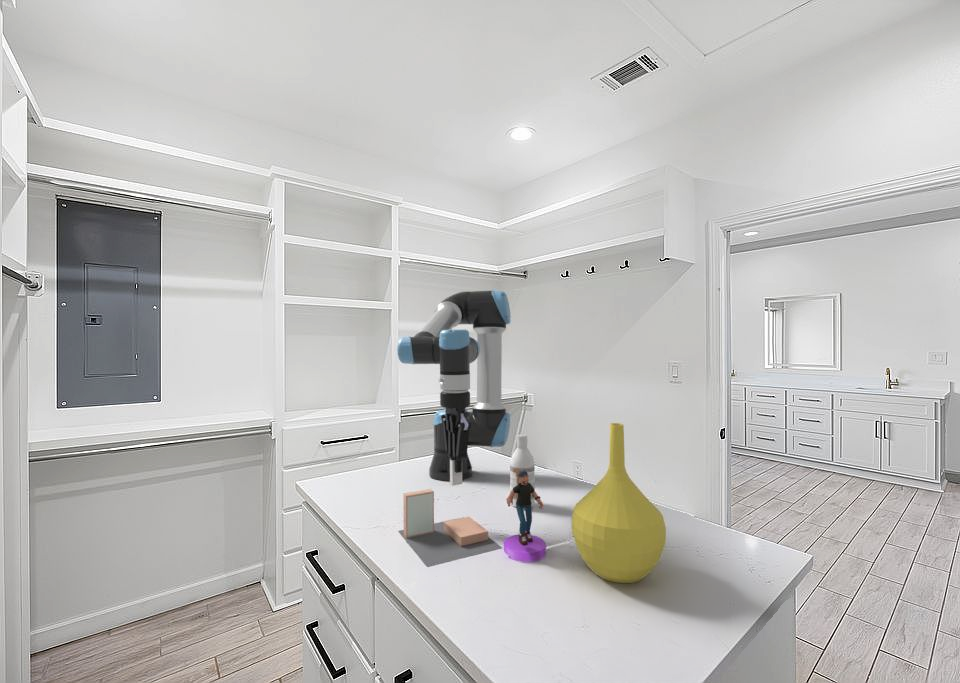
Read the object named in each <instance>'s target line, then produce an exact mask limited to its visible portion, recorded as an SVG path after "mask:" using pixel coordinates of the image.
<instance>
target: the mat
mask: <svg viewBox="0 0 960 683" xmlns="http://www.w3.org/2000/svg"><path fill="white" fill-rule="evenodd" d="M460 518H461V517H459V518H457V519H460ZM462 518H465V516H463V517H462ZM455 519H456V518H454V519H453V518H452V520H455ZM450 520H451V519H449V520H448V521H450ZM445 521H446V520H445ZM445 521H444V520H443V521H439V522H434V532H433V533H429V534H424V535H419V536H415V537H410V538H406V537H405V536H404V529H400V530H398V531H397V532H398V533H399V534H400V536H401V537H402V538H403V540H405V541H406V543H407V544H408V545H409V547H410V548H411V549H412V551H413V552H414V553H415V554H416V555H417V556H418V558H419V559H420V560H421V562H422V563H423V564H424V565H425V566H426V567H427V568H429V567H433V566H437V565H442V564H445V563H449V562H453V561H457V560H461V559H466V558H469V557H473V556H476V555H481V554H484V553H488V552H492V551H496V550H500V549H503V547H502V546H500V544H498V543H497V542H495V541H494V540H493V539H492V538H490V537H489V536H488V540H485V541H481V542H477V543H473V544H468V545H464V546H460V545H459V544H458V543H457V542H456V541H455V540H454V539H453V538H452V537H451V536H450V535H449V534H447V533H446V532H445V531H444V522H445Z"/></svg>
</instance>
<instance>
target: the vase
mask: <svg viewBox="0 0 960 683" xmlns="http://www.w3.org/2000/svg"><path fill="white" fill-rule="evenodd" d="M624 427H625V426H624V424H623V423H619V422H611V423H610V424H609V448H608V449H609V450H608V451H609V453H608V454H609V456H608V457H609V463H608V464H609V465H608V467H607V468H608V469H607V470H606V473H605V475H604V476H603V477H602V478H601V479H600V480H599V481H598V482H597V483H596V485H594V487H592V489H591V490H590V491H589V492H588V493H587V494H585V495H584V496H583V497H582V498H581V499H580V500H579V501H578V502H577V503H576V504H575V505H574V507H573V510H572V515H571V534H572V535H573V539H574V542H575V545H576V548H577V551H578V553H579V555H580V556H581V558H582V559H583V562H585V564H586V565H587V567H588V568H589V569H590V570H591V571H592V572H593V573H594V574H596V575H597V577H600V578H602V579H604V580H605V581H609V582H614V583H619V584H620V583H621V584H628V583H629V584H632V583H636V582H639V581H641V580H642V579H644V578H645V577H647V576H648V575H649V574H650V573H651V572H652V571H653V569H654V568H655V567H656V565H658V563H659V561H660V559H661V556H662V553H663V550H664V548H665V545H666V541H667V540H666V532H667V531H666V530H667V529H666V528H667V527H666V524H665V518H664V516H663V514H662V512H661V511H660V510H659V509H658V508H657V507H656V506H655V505H654V503H652V502H651V500H649V498H647V497H646V496H645V494H644V493H643V492H642V491H641V490H640V488H638V486H637V485H636V484H635V483H634V481H633V480H632V479H631V478H630V475H629V474H628V472H627V470H626V467H625V466H626V465H625V464H626V463H625V460H626V458H625V433H624V432H625V431H624V430H625V429H624Z"/></svg>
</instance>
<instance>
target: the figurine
mask: <svg viewBox="0 0 960 683" xmlns="http://www.w3.org/2000/svg"><path fill="white" fill-rule="evenodd" d="M517 476H518V477H519V480H520V481H521V483H519V484H518V485H516V486H515V487H513V490H512V491H511V492H510V491H509V495H508V496H507V498H506V504H507V507H511V504H512V505H513V497H514V495H515V494H516V493H518V498H517V501H516V508H515V509H516V512H517V515H518V520H519V528H518V529H519V532H518V534H514V535H510V536H508V537H506V538H505V539H504V541H503V552H504V554H506V555H507V556H508V557H507V558H509V559H511V560H514V561H517V562H525V563H527V562H535V561H539V560H542V559H543V558H544V557H545V556H546V554H547V542H545V540H544V539H543V538H542V537H539V536H538V535H532V534H531V527H532V523H533V516H532V515H533V511H532V508H533V507H531V504H532V503H531V494H532V495H533V497H534V498H535V501H536V503H537V504H538V505H539V506H538V509H540V510H543V507H544V503H543V501H542V500H541V496H540V495H538V494H537V492H536V490H535V489H536V488H535V489H534V488H533V486H532V485H531V483H528V477H529V476H528V473H527V472H526V471H521V472H520V473H519V475H517ZM523 508H525V509H523ZM524 510H525V511H524Z"/></svg>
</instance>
